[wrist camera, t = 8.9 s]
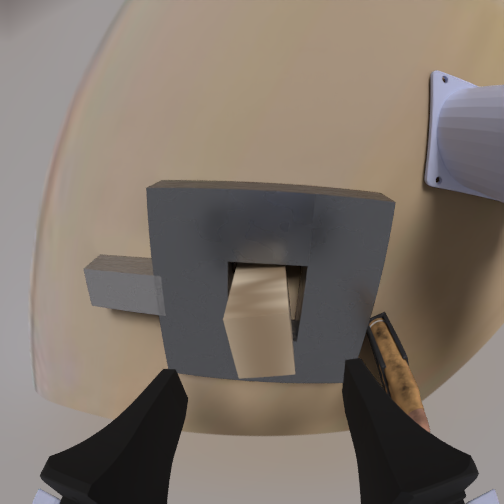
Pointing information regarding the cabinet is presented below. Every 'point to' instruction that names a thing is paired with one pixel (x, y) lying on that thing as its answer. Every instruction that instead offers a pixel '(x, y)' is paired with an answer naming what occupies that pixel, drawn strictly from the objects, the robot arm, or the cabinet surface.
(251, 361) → the oak wedge
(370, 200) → the steel bracket head
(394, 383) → the ammunition clip
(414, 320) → the cabinet surface
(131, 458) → the robot arm
